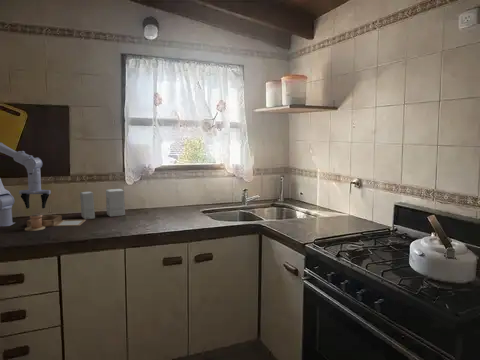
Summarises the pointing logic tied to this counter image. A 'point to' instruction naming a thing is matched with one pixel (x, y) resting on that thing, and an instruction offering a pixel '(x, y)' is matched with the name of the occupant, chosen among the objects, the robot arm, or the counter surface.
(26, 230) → the trivet
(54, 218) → the cold frame
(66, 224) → the lid
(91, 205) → the skincare box
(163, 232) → the counter surface
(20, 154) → the robot arm
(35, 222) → the pot
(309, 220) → the counter surface
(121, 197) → the supplement box
